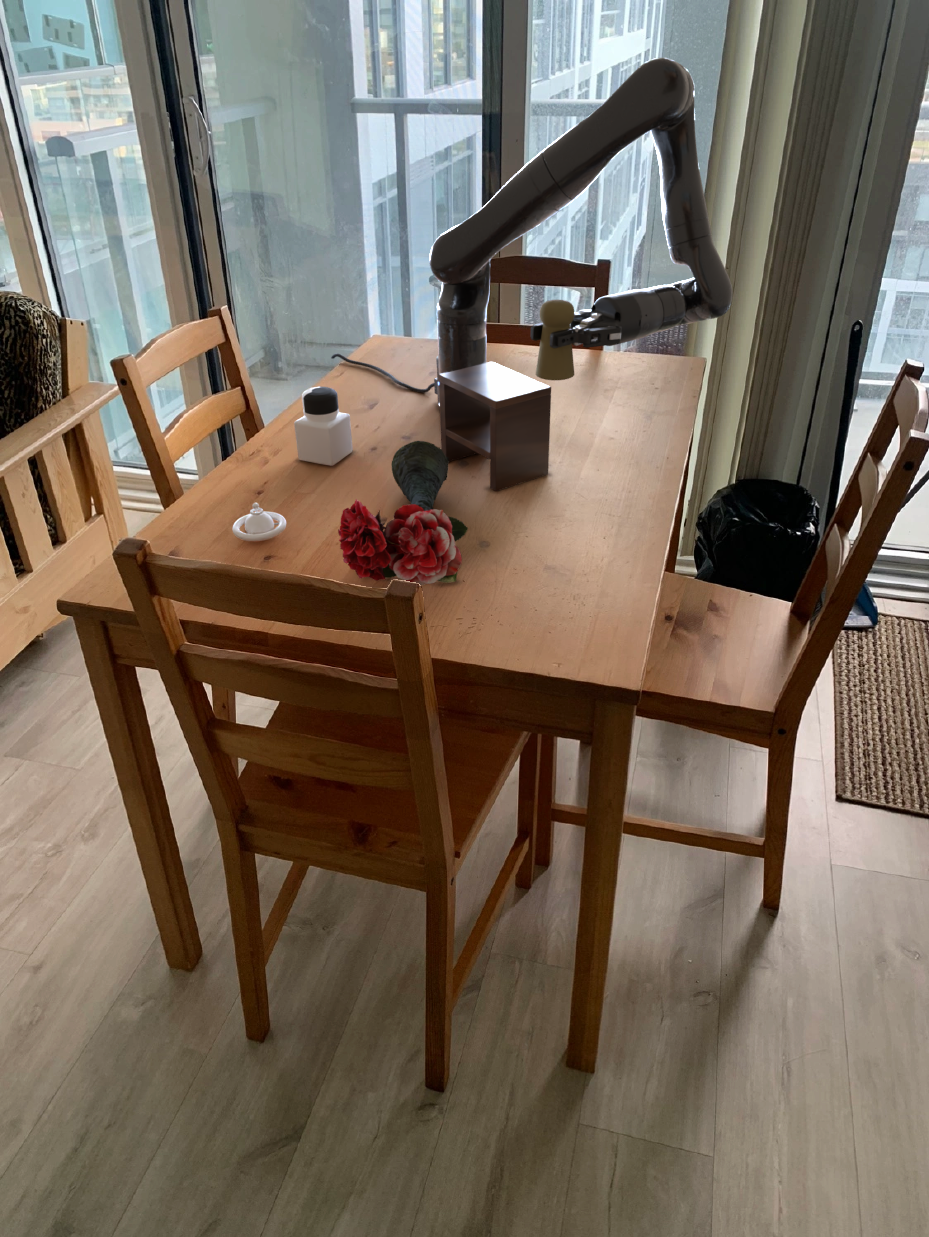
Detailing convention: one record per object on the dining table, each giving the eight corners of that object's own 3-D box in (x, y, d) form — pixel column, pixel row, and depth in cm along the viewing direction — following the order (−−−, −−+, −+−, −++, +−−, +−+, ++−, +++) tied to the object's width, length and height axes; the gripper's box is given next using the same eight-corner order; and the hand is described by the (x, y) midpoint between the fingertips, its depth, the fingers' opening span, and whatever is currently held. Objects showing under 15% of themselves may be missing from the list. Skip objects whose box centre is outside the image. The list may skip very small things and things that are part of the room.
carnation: (414, 536, 156) (420, 646, 126) (323, 471, 149) (306, 571, 119) (474, 466, 151) (496, 563, 120) (383, 395, 144) (382, 480, 114)
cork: (532, 368, 147) (534, 296, 141) (570, 366, 147) (574, 295, 141) (538, 381, 142) (540, 307, 136) (577, 379, 142) (581, 306, 136)
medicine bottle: (353, 451, 167) (348, 386, 160) (332, 467, 162) (325, 400, 155) (319, 445, 170) (312, 381, 163) (297, 460, 164) (289, 394, 158)
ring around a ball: (298, 536, 140) (269, 518, 145) (293, 502, 137) (263, 485, 142) (253, 556, 136) (224, 537, 141) (246, 521, 133) (217, 503, 138)
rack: (441, 459, 164) (438, 374, 155) (492, 444, 169) (492, 361, 160) (495, 491, 152) (496, 401, 144) (548, 474, 158) (551, 386, 149)
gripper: (598, 283, 151) (513, 301, 143) (661, 302, 141) (573, 323, 133) (595, 330, 155) (512, 350, 147) (656, 351, 145) (571, 374, 137)
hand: (542, 337), depth 140 cm, fingers closed on cork, 4 cm apart
